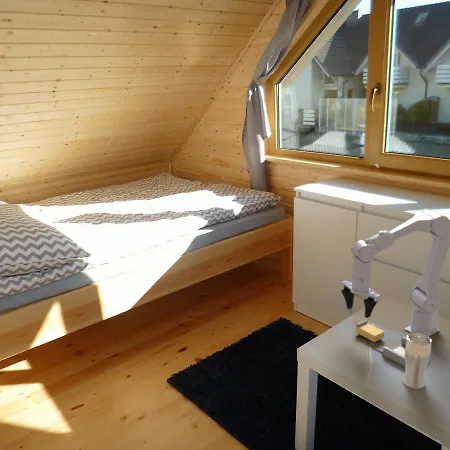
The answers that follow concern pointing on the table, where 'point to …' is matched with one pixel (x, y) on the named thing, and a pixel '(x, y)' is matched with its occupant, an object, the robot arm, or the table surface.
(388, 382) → the table surface
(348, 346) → the table surface
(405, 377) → the beer glass
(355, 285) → the robot arm
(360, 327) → the toy bed
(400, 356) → the dock
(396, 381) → the table surface
